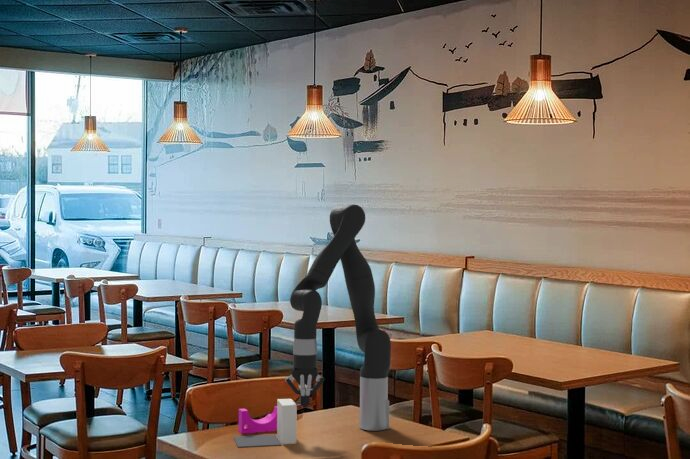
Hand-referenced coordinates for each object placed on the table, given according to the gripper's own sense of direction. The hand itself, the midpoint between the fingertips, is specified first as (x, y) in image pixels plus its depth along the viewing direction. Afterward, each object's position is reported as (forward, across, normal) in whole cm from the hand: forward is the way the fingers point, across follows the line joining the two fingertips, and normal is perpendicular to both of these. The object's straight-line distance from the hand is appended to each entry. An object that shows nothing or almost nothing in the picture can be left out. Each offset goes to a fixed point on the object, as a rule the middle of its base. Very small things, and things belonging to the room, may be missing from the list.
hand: (304, 407), depth 286 cm
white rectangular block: (+10, +6, 0) cm, 12 cm away
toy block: (+11, +12, -15) cm, 22 cm away
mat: (+10, +15, 0) cm, 18 cm away
